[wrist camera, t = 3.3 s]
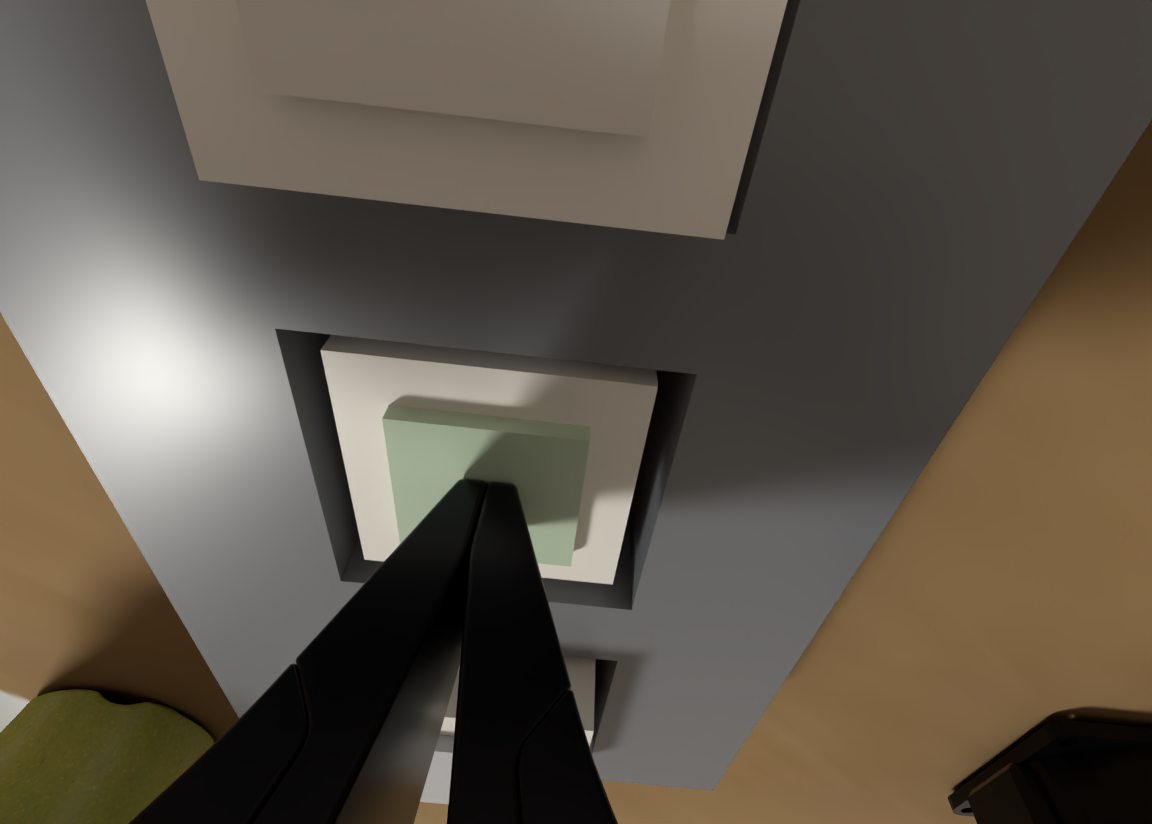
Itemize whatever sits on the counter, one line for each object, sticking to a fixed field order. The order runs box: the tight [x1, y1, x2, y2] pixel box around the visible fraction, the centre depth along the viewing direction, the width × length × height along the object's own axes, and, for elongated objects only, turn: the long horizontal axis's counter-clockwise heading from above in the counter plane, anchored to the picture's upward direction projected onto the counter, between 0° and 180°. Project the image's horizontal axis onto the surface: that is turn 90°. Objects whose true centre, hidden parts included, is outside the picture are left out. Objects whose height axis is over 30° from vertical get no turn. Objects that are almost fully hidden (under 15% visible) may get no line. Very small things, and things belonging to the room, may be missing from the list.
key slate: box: [420, 656, 596, 804], centre depth 13 cm, size 4×4×2 cm
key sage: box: [320, 335, 658, 585], centre depth 10 cm, size 4×4×2 cm
